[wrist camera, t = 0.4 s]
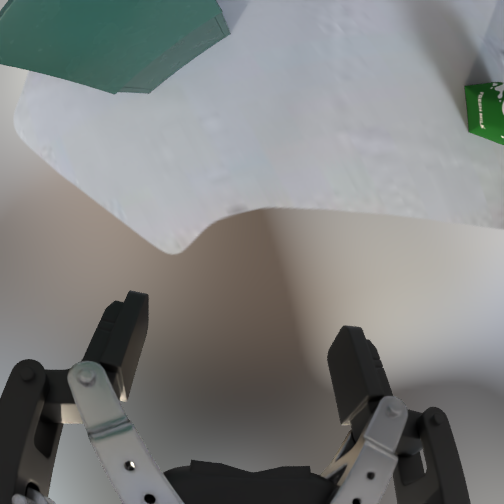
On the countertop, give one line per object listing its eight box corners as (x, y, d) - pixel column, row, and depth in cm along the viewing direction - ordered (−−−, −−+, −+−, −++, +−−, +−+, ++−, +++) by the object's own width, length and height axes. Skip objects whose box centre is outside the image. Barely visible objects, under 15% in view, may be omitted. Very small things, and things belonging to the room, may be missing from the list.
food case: (90, 19, 28) (50, 5, 19) (164, -39, 24) (139, -69, 15) (148, 93, 33) (115, 92, 24) (230, 33, 30) (221, 10, 21)
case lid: (-29, 52, 8) (-28, 59, 8) (134, -110, 5) (139, -107, 5) (111, 89, 24) (114, 94, 24) (218, 7, 20) (222, 11, 21)
